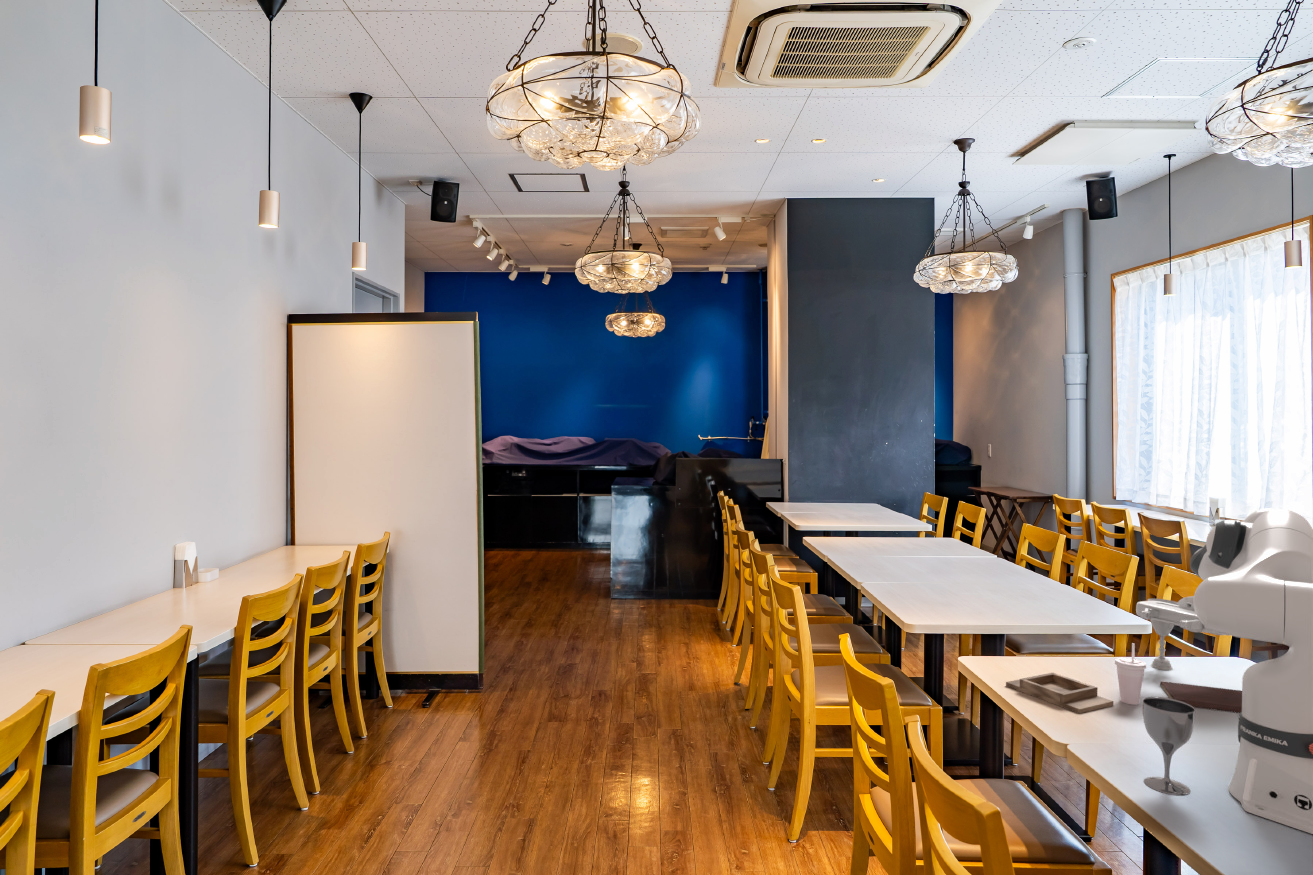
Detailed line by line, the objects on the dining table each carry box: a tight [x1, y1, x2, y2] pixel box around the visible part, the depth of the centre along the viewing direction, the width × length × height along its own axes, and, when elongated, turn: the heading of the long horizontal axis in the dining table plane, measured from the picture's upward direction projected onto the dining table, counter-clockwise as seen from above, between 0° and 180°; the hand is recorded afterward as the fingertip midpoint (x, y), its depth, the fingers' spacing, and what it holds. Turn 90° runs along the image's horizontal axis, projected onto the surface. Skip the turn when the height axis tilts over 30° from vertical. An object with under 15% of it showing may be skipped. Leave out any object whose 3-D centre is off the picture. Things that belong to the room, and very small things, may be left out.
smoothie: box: [1114, 642, 1147, 705], centre depth 182 cm, size 6×6×14 cm
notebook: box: [1159, 681, 1242, 714], centre depth 183 cm, size 15×20×2 cm
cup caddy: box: [1005, 672, 1114, 714], centre depth 186 cm, size 20×12×3 cm, turn 25°
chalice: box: [1147, 598, 1178, 671], centre depth 208 cm, size 7×7×18 cm
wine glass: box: [1141, 696, 1196, 796], centre depth 139 cm, size 8×8×15 cm
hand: (1162, 620), depth 187 cm, fingers open, 8 cm apart
